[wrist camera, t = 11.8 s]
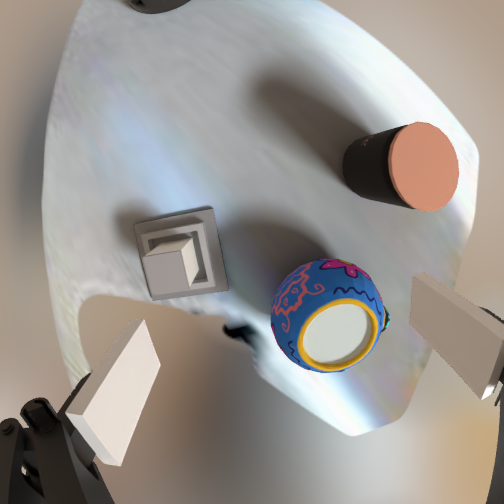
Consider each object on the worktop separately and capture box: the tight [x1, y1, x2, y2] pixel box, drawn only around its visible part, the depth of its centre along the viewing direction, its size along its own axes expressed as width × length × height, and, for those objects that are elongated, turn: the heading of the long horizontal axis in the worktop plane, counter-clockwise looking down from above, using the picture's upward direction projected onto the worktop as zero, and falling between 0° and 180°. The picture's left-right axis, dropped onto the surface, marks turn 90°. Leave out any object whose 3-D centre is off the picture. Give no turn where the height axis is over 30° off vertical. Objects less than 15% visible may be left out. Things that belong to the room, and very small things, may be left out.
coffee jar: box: [343, 122, 459, 212], centre depth 36 cm, size 11×11×18 cm
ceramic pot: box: [271, 259, 390, 373], centre depth 42 cm, size 18×18×15 cm
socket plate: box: [133, 208, 229, 301], centre depth 46 cm, size 14×14×3 cm
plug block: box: [143, 238, 199, 295], centre depth 42 cm, size 6×6×9 cm
